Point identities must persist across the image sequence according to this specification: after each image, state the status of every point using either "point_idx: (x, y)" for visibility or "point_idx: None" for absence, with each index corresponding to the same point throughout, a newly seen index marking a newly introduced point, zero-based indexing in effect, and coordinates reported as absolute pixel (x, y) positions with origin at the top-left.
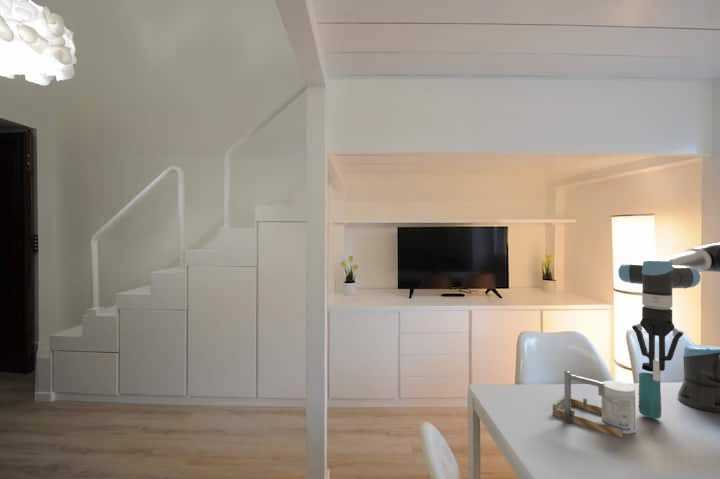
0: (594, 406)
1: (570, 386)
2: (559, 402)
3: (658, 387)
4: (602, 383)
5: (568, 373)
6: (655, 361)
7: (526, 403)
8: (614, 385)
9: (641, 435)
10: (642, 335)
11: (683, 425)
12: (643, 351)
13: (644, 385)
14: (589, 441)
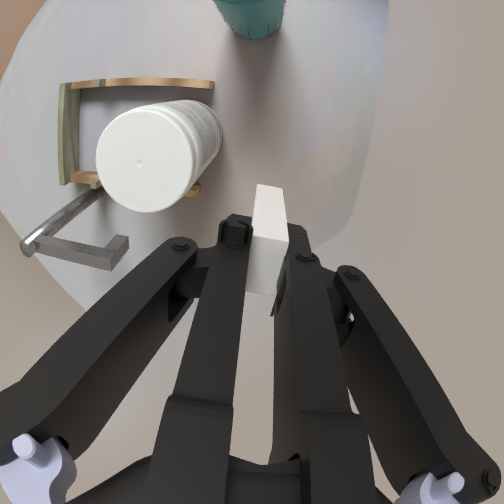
0: (123, 85)
1: (56, 230)
2: (63, 160)
3: (278, 1)
4: (108, 269)
5: (31, 255)
6: (254, 286)
7: (31, 161)
8: (130, 169)
9: (236, 141)
10: (91, 386)
11: (331, 17)
12: (169, 309)
13: (229, 11)
14: (154, 244)
